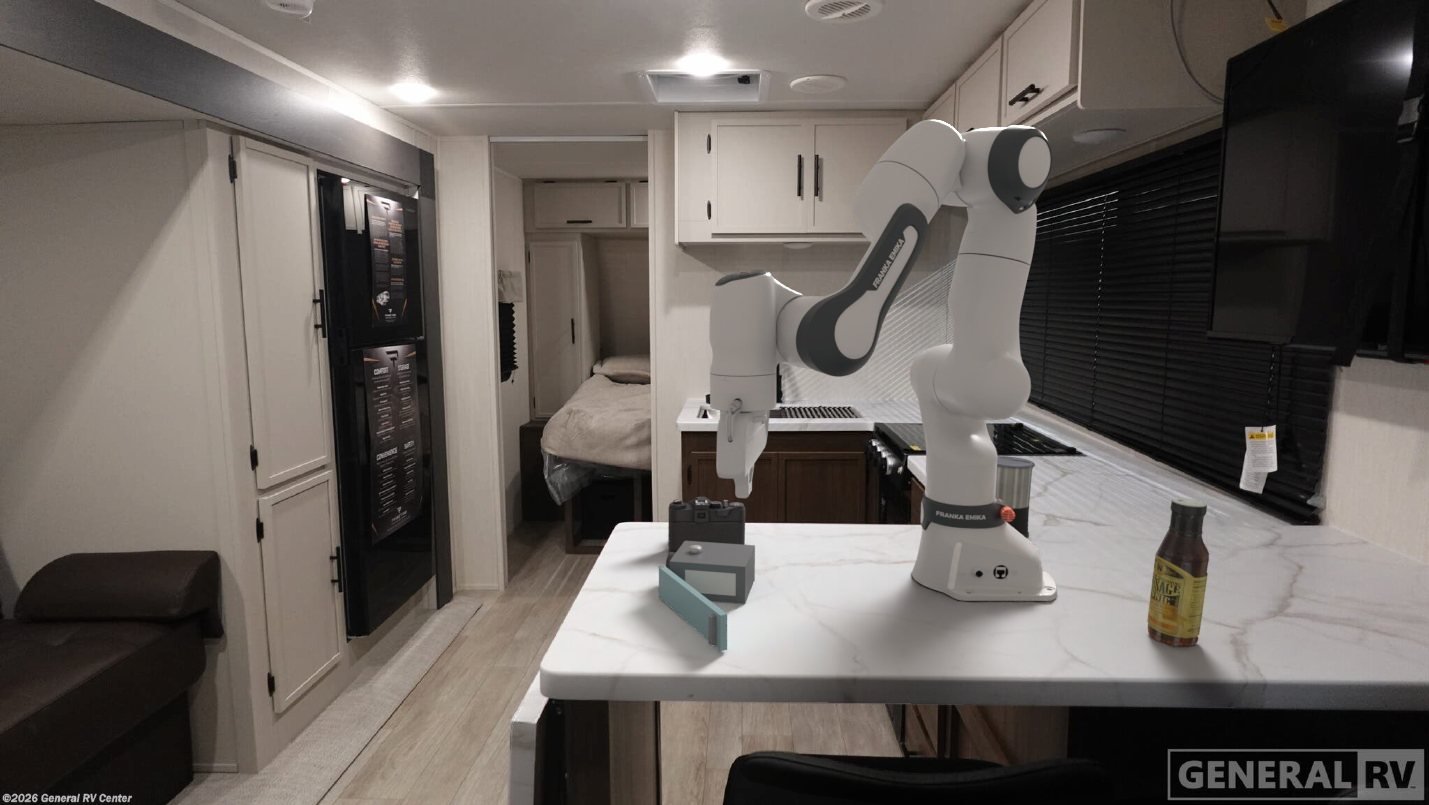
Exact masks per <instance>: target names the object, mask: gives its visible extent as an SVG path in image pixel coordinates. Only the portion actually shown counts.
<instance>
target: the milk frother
mask: <svg viewBox="0 0 1429 805" xmlns="http://www.w3.org/2000/svg"><path fill="white" fill-rule="evenodd" d="M997 456H998V459H997V478H996V495H995V498H997V499H1000V500H1001V501H1002V502H1004V503H1005V504H1007V506H1008V507H1010V508H1011V509H1012V510H1013V512H1014V513H1015V514H1014V515H1015V519H1012V520H1013V521H1010V522H1007V521H1006V522H1007V523H1008V524H1010V525H1011V526H1012V527H1013V528H1015V529H1016V530H1017V531H1018V532H1019V533H1021V534H1022V535H1023V536H1024V537H1026V538H1027V537H1029V536H1030V531H1029V516H1030V515H1029V513H1030V511H1029V510H1030V502H1031V500H1030V499H1031V490H1032V489H1031V488H1032V478H1033V477H1032V474H1033V468H1034V467H1035V466H1036V463H1035V462H1034V461H1032V460H1029V459H1026V458H1023V457H1022V458H1021V457H1018V456H1017V457H1016V456H1007V455H997Z"/></svg>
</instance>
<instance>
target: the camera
mask: <svg viewBox="0 0 1429 805" xmlns="http://www.w3.org/2000/svg"><path fill="white" fill-rule="evenodd" d="M728 502H729V500H727V499H724V500H723V503H722V502H721V501H717V500H716V501H715V500H714V501H712V500H710V499H709V498H708V497H706V496H696V497H695V498H692V499H691V500H689V501H688V502H684V501H683V500H681V499H673V501H672V502H670V503H669V504H668V505H669V506H668V525H667V526H668V527H667V528H668V534H667V538H668V539H667V540H668V552H669V553H670V552H677V551H678V549H679V548H680V547H681V545H682V544H683V542H684V541H697V542H712V543H727V544H742V545H746V543H745V540H746V539H745V536H746V507H745V506H746V505H744V503H743V502H738V501H736V502H735V501H734V502H733V501H732V502H730V503H728Z"/></svg>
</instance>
